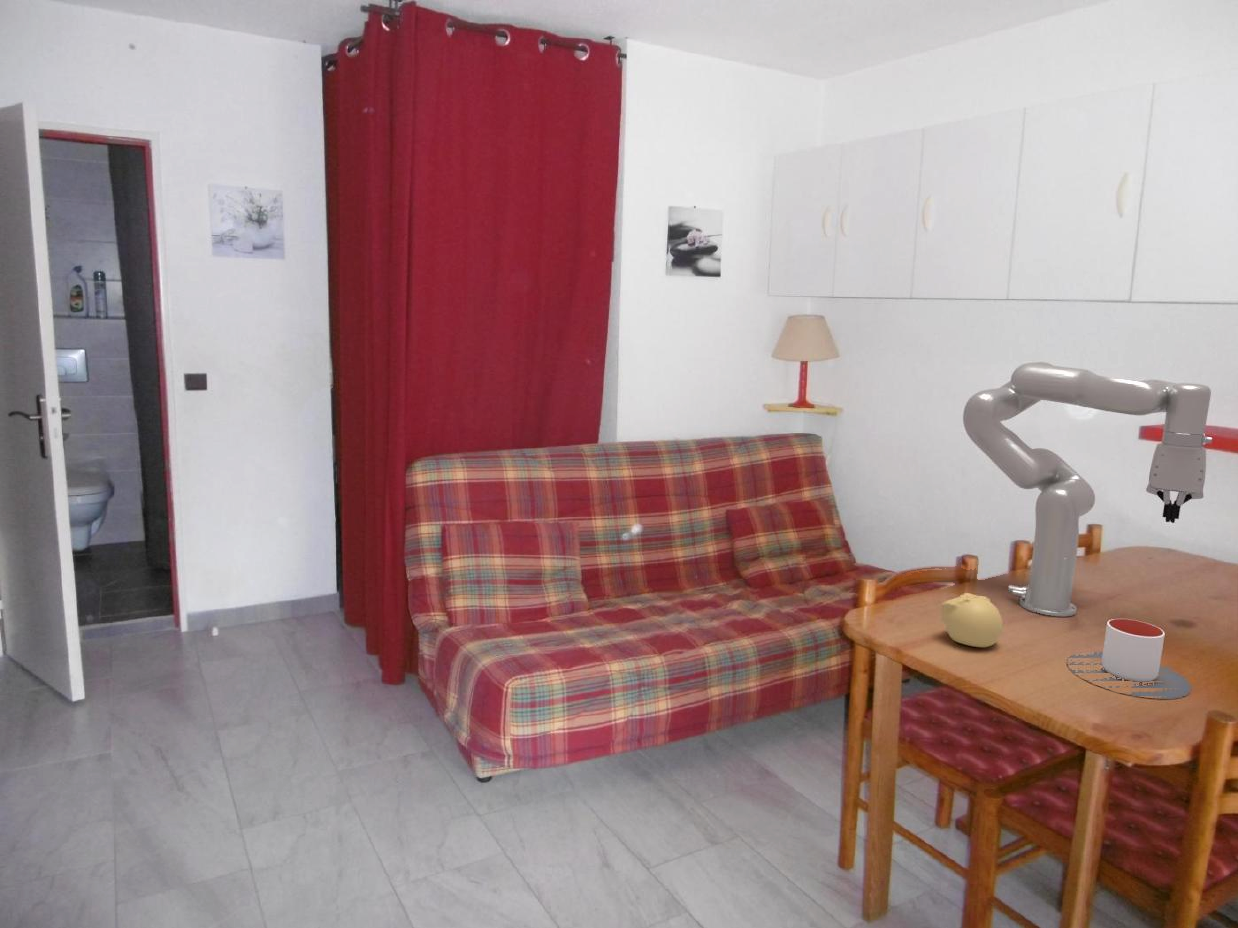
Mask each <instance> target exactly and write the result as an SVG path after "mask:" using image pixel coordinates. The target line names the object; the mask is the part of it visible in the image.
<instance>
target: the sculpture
mask: <svg viewBox="0 0 1238 928" xmlns="http://www.w3.org/2000/svg"><path fill="white" fill-rule="evenodd" d="M940 613H941V617H940V618H941V620H942V622H943V625H944V626H945V629H946V632H947V634H948V635H949V637H950V638H951V640H953V642H956V643H959V644H963V645H965V646H969V647H974V648H975V647H976V648H988V647H992V646H993V645H994V644H996V642H997V641H998V640H999V639H1000V636H1002V635H1001V634H1002V633H1003V625H1004V624H1003V623H1004V622H1003V618H1002V614H1001V613H1000V610H999V609H998V608H997V606H995V604H993V603H992V602H991V599H990V598H988V597H987V596H983V595H976V594H972V593H969V592H966V593H962V594H960V595H959V596H957V597H955V598H952V599H948V600H945V601H943V603H942V604H941V612H940Z"/></svg>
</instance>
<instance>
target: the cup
mask: <svg viewBox="0 0 1238 928" xmlns="http://www.w3.org/2000/svg"><path fill="white" fill-rule="evenodd" d="M1165 635H1166V633H1165V631H1164V630H1163V629H1162V628H1160V627H1158V626H1156V625H1153V624H1152V623H1148V622H1145V621H1140V620H1136V619H1132V618H1131V619H1130V618H1113V619H1109V620H1108V621H1107V622H1106V629H1105V635H1104V643H1103V649H1102V652H1103V655H1102V666H1103V668H1104V669H1105V670H1106V671H1107V672H1108V673H1110V674H1111V675H1113V676H1115V677H1118V678H1121V679H1124V680H1128V681H1133V682H1149V681H1153V680H1154V679H1156V678H1157V676H1158V673H1159V667H1160V665H1161V661H1162V660H1161V659H1162V654H1163V647H1164V640H1165Z"/></svg>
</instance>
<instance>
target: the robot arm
mask: <svg viewBox="0 0 1238 928" xmlns="http://www.w3.org/2000/svg"><path fill="white" fill-rule="evenodd" d="M1211 396H1212V390H1211V388H1210V387H1209V386H1207V385H1205V384H1201V383H1186V382H1185V383H1184V382H1183V383H1182V382H1181V383H1180V382H1179V383H1176V382H1170V381H1165V380H1162V379H1161V380H1159V379H1145V380H1129V379H1124V378H1123V379H1122V378H1115V377H1107V376H1103V375H1098V374H1096V373H1094V372H1093V371H1091V370H1088V369H1083V368H1076V367H1067V366H1059V365H1053V364H1051V363H1050V362H1049V363H1048V362H1044V361H1040V362H1039V361H1038V362H1037V361H1035V362H1027V363H1023V364H1020V365H1019V366H1018V367H1016V368H1015V370H1014V371H1013V372H1012V374H1011V377H1010V381H1008V382H1006V383H1005V384H1003V385H1001V386H1000V387H997V388H991V389H984V390H981V391H980V390H979V391H978V392H976V393H975V394H973V395H971V396H970V397H969V398H968V401H966V404H965V406H964V408H963V414H962V422H963V426H964V430H965V432H966V434H967V436H968V437H969V439H970V440H971V441H972V442H973V444H975V446H976V447H977V448H979V450H981V452H983V453H984V454H985V455H986V456H987V457H988V458H989V459H990V460H991V461H992V462H993V464H994V465H995V466H997V468H998V469H1000V471H1001V472H1002V473H1003V474H1005V476H1006V477H1008V479H1009V480H1010V481H1012V482H1013V484H1014V485H1016V486H1017V487H1018V488H1021V489H1024V490H1032V489H1033V490H1034V489H1038V490H1039V491H1040V493H1039V495H1038V497H1037V498H1036V503H1035V507H1034V508H1035V533H1034V539H1033V540H1034V541H1033V548H1032V549H1033V550H1032V556H1031V564H1030V571H1029V572H1030V573H1029V580H1028V581H1029V582H1028V583H1027V586H1026V585H1023V586H1018V585H1013V584H1009V585H1008V590H1007V591H1008V593H1011V594H1012V596H1020V598H1019V604H1020V606H1021V607H1022V608H1024V609H1025V610H1028V611H1030V612H1033V613H1036V612H1037V614H1039V613H1040V615H1043V614H1044V616H1049V615H1050V617H1059V616H1060V617H1063V618H1064V617H1070V616H1074V615H1076V613H1077V606H1076V605H1075V604H1074V603H1072V602H1071V600H1072V592H1073V584H1074V580H1075V579H1074V578H1075V571H1076V564H1077V563H1076V562H1077V557H1078V555H1077V554H1078V547H1079V535H1080V534H1079V533H1080V532H1079V531H1080V529H1079V528H1080V527H1079V526H1080V525H1079V522H1080V520H1079V519H1080V517H1082V516H1085V515H1086V514H1087V513H1089V512H1090V511H1091V510H1092V509H1093V507H1094V505H1095V503H1096V495H1095V492H1094V489H1093V488H1092V486H1091V485H1090V483H1088V481H1086V480H1085V479H1084V478H1083V477H1082V476H1081V475H1080V474H1079V473H1078V472H1077V471H1076V470H1075V469H1074V468H1072V467H1071V466H1070V465H1069V464H1068V462H1066V461H1065V460H1064V459H1063V458H1062V457H1061V456H1059V455H1058V453H1057V454H1056V453H1055V452H1053V451H1051V450H1049V449H1047V448H1041V447H1038V448H1032V447H1031V446H1029V445H1028V444H1027V443H1025V442H1024V441H1023V440H1022V439H1021V438H1020V437H1019V436H1018V435H1017V434H1016V433H1015V432H1013V430H1011V429H1009V428H1008V427H1006V426H1005V425H1004V424H1003V423H1002V422H1003V421H1007V420H1010V419H1012V418H1014V417H1016V416H1018V415H1019V414H1021V413H1023V412H1025V411H1026V410H1027V409H1030V408H1031V407H1032V406H1034V405H1036V404H1037V403H1039V402H1041V401H1048V402H1053V403H1054V402H1055V403H1061V404H1066V405H1067V404H1068V405H1074V406H1079V407H1083V408H1089V409H1095V410H1098V411H1103V412H1104V411H1105V412H1110V413H1117V414H1118V413H1119V414H1123V415H1130V416H1146V415H1150V414H1155V413H1157V414H1158V413H1165V419H1164V424H1163V432H1162V437H1161V439H1162V440H1161V443H1160V442H1159V443H1157V445H1156V447H1155V449H1154V452H1153V456H1152V461H1151V465H1150V470H1149V476H1148V484H1147V486H1146V489H1145V491H1146V492H1147V493H1148V494H1152V495H1155V496H1157V497H1158V498H1159V499H1161V501H1162V502H1163V503H1164V504H1163V510H1162V518H1165V522H1166V523H1170V522H1171V523H1172V524H1175V523H1176V522H1175V521H1176V520H1179V518H1180V514H1181V506H1183V505H1184V504H1185V503H1187V502H1189V501H1190V500H1199V499H1203V498H1204V487H1205V481H1206V471H1207V449H1206V447H1204V445H1206V444H1212V441H1213V438H1212V437H1209V436H1206V435H1205V432H1206V428H1207V427H1206V426H1207V421H1208V415H1209V414H1208V412H1209V408H1210V402H1211ZM1171 492H1177V497H1176V499H1175V500H1174V501H1173V503H1172V500H1171Z"/></svg>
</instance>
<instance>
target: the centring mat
mask: <svg viewBox="0 0 1238 928" xmlns="http://www.w3.org/2000/svg"><path fill="white" fill-rule="evenodd" d="M1093 652H1094V654H1093V655H1091V654H1092V653H1091V654H1090V655H1089V654H1087V655H1086V656H1084V655H1080V654H1079V655H1078V656H1076V655H1074V654H1071V655H1070V656H1069V657H1068V658H1102V655H1103V651H1093ZM1098 652H1099V654H1097V653H1098ZM1071 661H1072V660H1071ZM1078 661H1079V660H1078ZM1093 662H1094V661H1093ZM1068 663H1069V662H1068ZM1068 663H1067V662H1066V666H1067V665H1084V664H1082V663H1084V662H1080V663H1078V664H1074V663H1076V662H1072V663H1071V662H1070V664H1068ZM1090 663H1092V662H1090ZM1090 663H1086V664H1085V665H1091V664H1090ZM1097 664H1099V663H1095V664H1094V663H1093V665H1097ZM1099 665H1102V661H1101V662H1100V664H1099ZM1162 666H1163V667H1159V673H1162V674H1163V675H1159V674H1158V676H1157V678H1156V679H1154V680H1153V681H1163V682H1154V685H1153V683H1149V684H1151V685H1148V683H1147V684H1144V685H1147V686H1143V685H1142V682H1140V683H1141V684H1140V683H1139V686H1136V684H1134V685H1135V686H1132V687H1131V688H1163V689H1162V691H1154V692H1150V691H1147V692H1144V691H1143V692H1141V691H1139V692H1132V693H1131V694H1127V693H1126V694H1127V695H1126V696H1129V695H1132V696H1131V697H1134V696H1162V697H1161V698H1158V697H1157V698H1155V697H1154V698H1155V699H1154V700H1159V699H1168V700H1176V699H1175V698H1178V699H1181V697H1182V698H1184V697H1183V696H1185V697H1186V696H1188V695H1189V694H1191V692H1192V685H1191V683H1190V682H1189V681H1188V680H1187V678H1185V677H1184V676H1182V675H1181V674H1180V673H1178V672H1176V671H1175V670H1173V669H1170V668H1168V667H1166V666H1164V665H1162ZM1078 669H1079V668H1078ZM1100 670H1101V671H1097V670H1093V671H1090V672H1087V671H1089V670H1086V673H1092V672H1093V673H1108V672H1107V671H1106V670H1105V669H1104V670H1103V668H1102V669H1100ZM1071 671H1072V672H1071ZM1071 671H1070V672H1071V673H1072V674H1074V673H1085V672H1084V671H1082V670H1078V672H1075V671H1076V670H1072V669H1071ZM1094 671H1095V672H1094ZM1165 673H1166V674H1167V675H1166V674H1165ZM1169 673H1170V674H1169ZM1161 676H1162V677H1161ZM1103 678H1104V677H1103ZM1117 678H1118V677H1116V679H1114V678H1112V677H1109V680H1108V679H1107V678H1104V679H1100V681H1122V679H1117ZM1087 681H1089V680H1086V681H1085V682H1087ZM1093 681H1099V679H1096V680H1093ZM1124 681H1128V680H1124ZM1167 681H1168V682H1167ZM1101 687H1102V686H1101ZM1101 687H1100V688H1101ZM1119 687H1120V686H1116V688H1119ZM1126 687H1128V686H1126ZM1103 688H1105V687H1103ZM1103 688H1102V689H1103ZM1109 688H1112V686H1109ZM1124 688H1125V687H1124ZM1165 688H1167V690H1164V689H1165ZM1169 688H1172V689H1169ZM1175 688H1177V689H1175ZM1158 690H1159V689H1158ZM1124 694H1125V693H1124ZM1124 694H1123V695H1124ZM1164 696H1166V697H1164ZM1147 698H1148V697H1147ZM1147 698H1146V699H1147Z"/></svg>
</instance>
